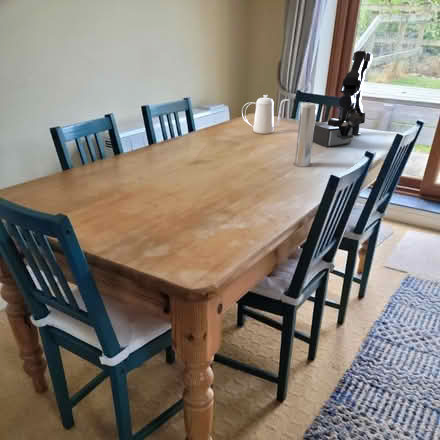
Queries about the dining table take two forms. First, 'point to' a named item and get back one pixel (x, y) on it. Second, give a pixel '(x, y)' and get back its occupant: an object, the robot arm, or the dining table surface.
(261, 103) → the coffeepot
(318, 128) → the grey sliding drawer unit
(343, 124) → the robot arm
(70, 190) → the dining table surface
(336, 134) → the drawer
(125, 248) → the dining table surface
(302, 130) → the silver metal cylinder
